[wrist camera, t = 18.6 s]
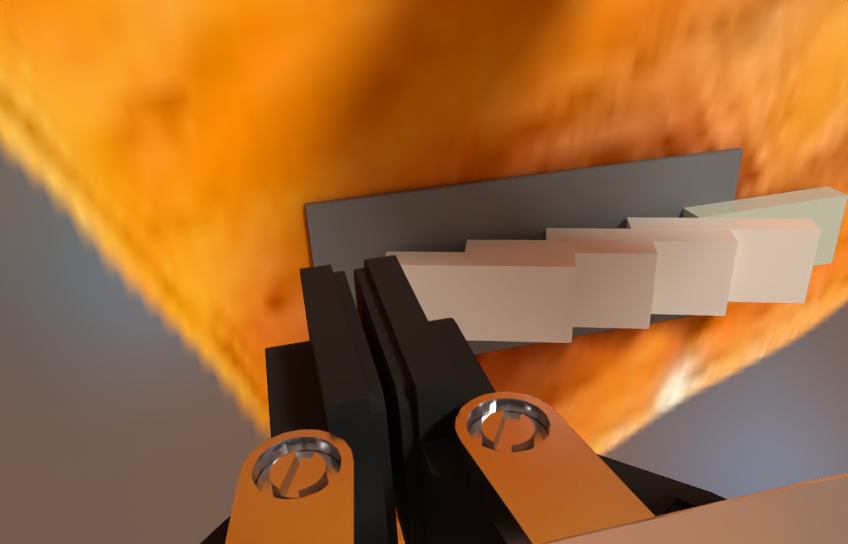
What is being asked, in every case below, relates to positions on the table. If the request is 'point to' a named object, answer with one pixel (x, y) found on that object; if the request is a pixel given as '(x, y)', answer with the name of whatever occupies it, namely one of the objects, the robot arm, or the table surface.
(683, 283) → the domino
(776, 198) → the domino
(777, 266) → the domino
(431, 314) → the domino
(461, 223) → the mat
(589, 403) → the table surface
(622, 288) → the domino
